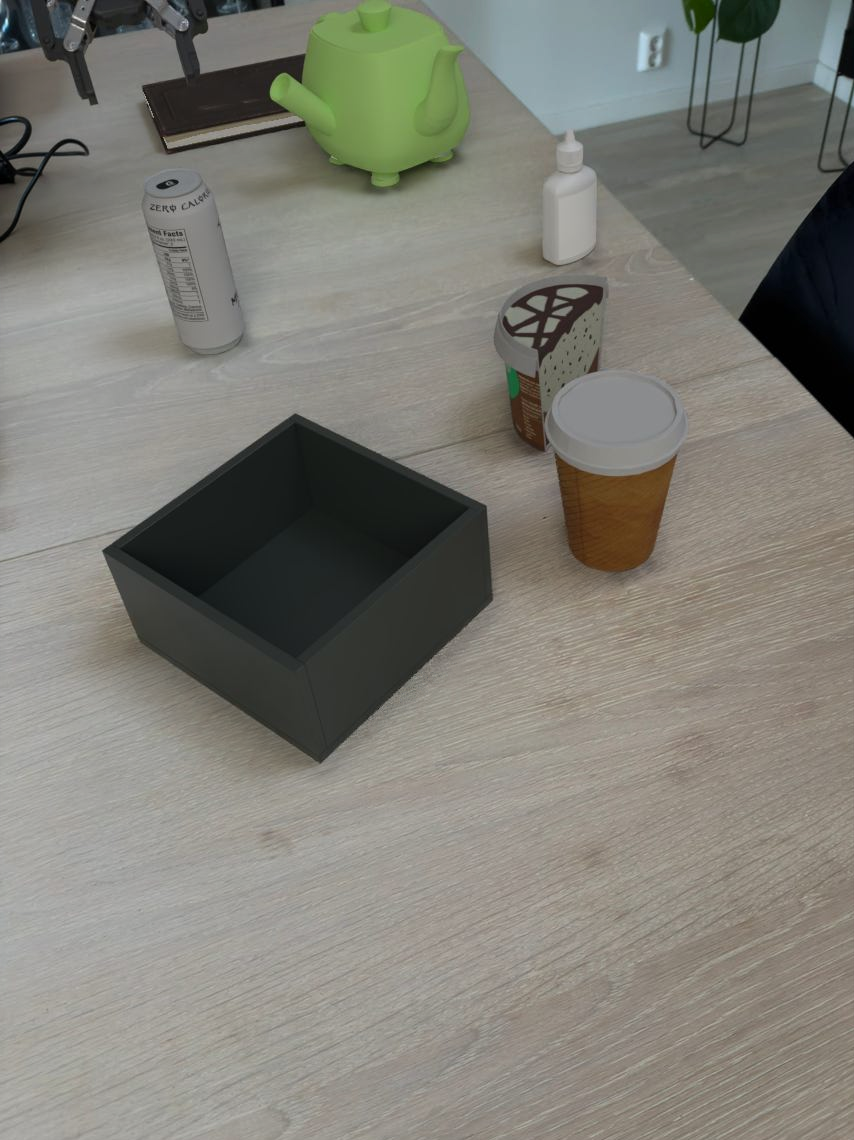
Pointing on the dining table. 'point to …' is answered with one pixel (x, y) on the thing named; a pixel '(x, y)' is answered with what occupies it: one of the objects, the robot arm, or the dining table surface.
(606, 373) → the disposable coffee cup
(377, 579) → the bin
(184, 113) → the hardcover book
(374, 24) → the teapot
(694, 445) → the dining table surface
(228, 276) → the energy drink can
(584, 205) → the eye dropper bottle
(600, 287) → the food container
